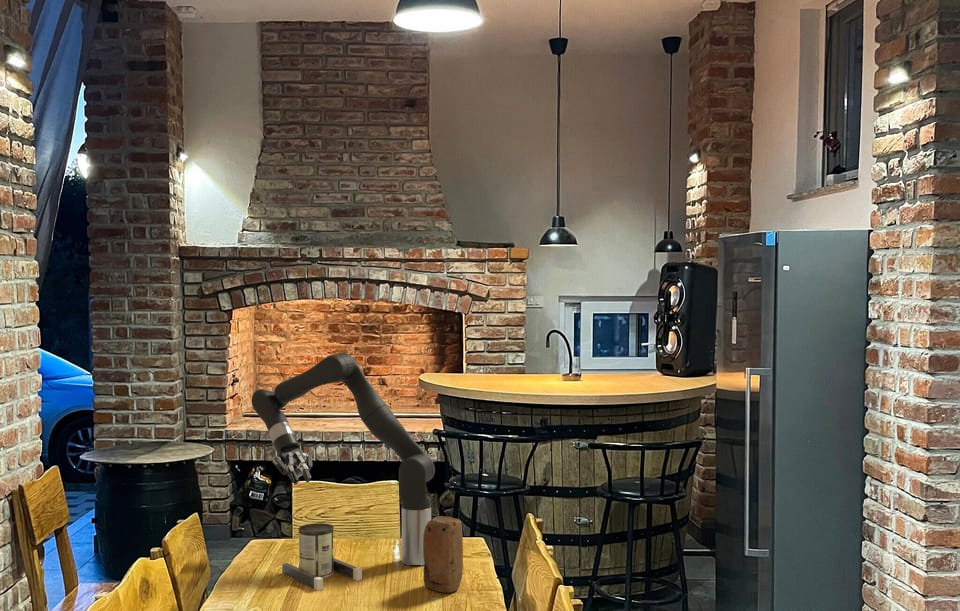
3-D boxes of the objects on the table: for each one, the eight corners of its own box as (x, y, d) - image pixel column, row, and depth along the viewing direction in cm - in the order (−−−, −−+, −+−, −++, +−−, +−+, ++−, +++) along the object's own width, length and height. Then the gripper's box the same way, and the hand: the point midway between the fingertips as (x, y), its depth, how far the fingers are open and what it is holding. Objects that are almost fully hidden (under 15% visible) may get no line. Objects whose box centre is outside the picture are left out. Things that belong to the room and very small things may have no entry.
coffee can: (309, 567, 268) (309, 521, 267) (339, 571, 264) (339, 524, 264) (291, 577, 258) (291, 530, 258) (322, 581, 254) (322, 533, 254)
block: (465, 588, 248) (465, 518, 248) (450, 596, 242) (450, 524, 242) (434, 581, 254) (434, 513, 254) (418, 589, 248) (419, 518, 248)
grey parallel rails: (325, 564, 271) (325, 554, 271) (361, 579, 256) (361, 569, 256) (282, 573, 261) (282, 563, 261) (317, 590, 246) (317, 579, 246)
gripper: (268, 434, 280) (287, 478, 271) (307, 430, 290) (326, 472, 281) (260, 448, 284) (278, 492, 275) (298, 444, 294) (317, 485, 285)
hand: (302, 481), depth 278 cm, fingers open, 3 cm apart
